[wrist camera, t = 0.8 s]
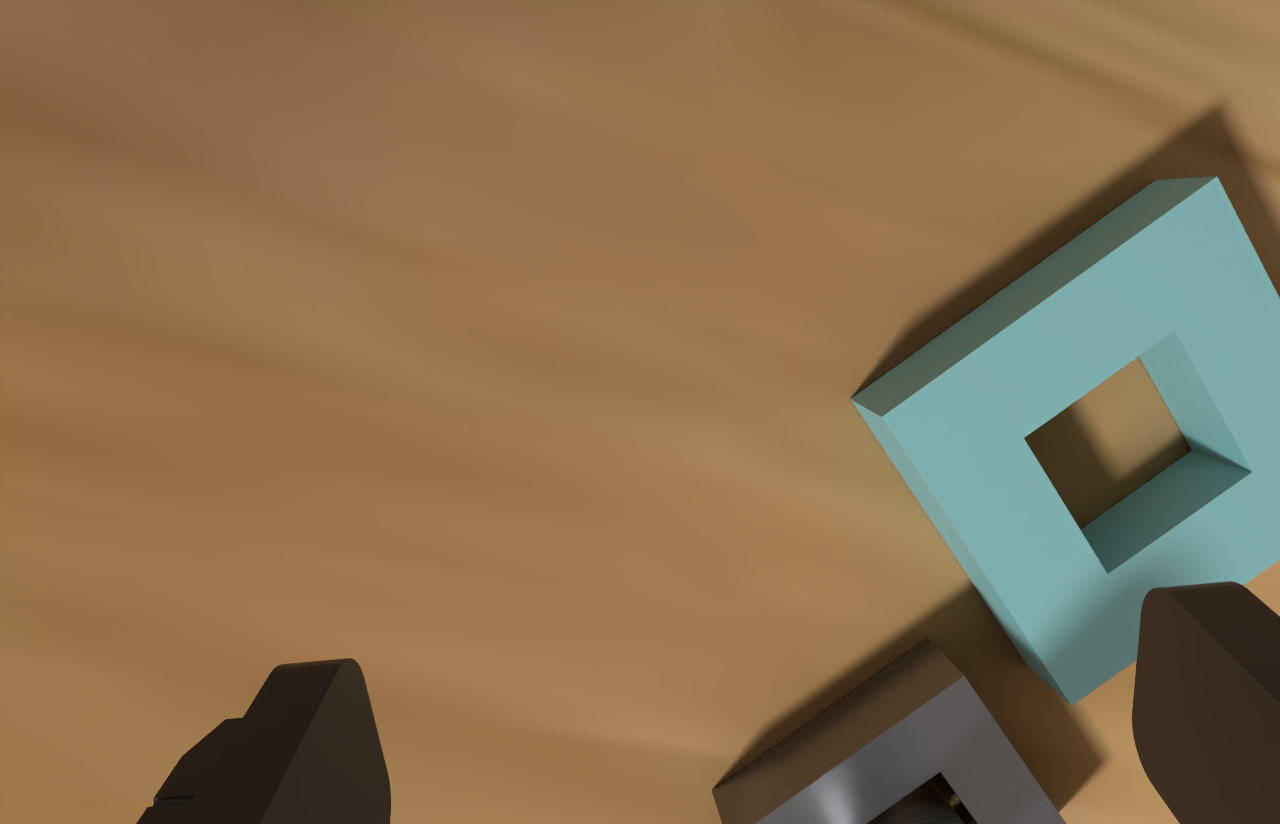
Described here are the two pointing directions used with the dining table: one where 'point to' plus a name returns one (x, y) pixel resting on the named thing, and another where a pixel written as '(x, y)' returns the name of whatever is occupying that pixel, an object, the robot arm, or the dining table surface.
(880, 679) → the socket block
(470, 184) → the dining table surface
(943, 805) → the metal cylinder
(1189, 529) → the block
